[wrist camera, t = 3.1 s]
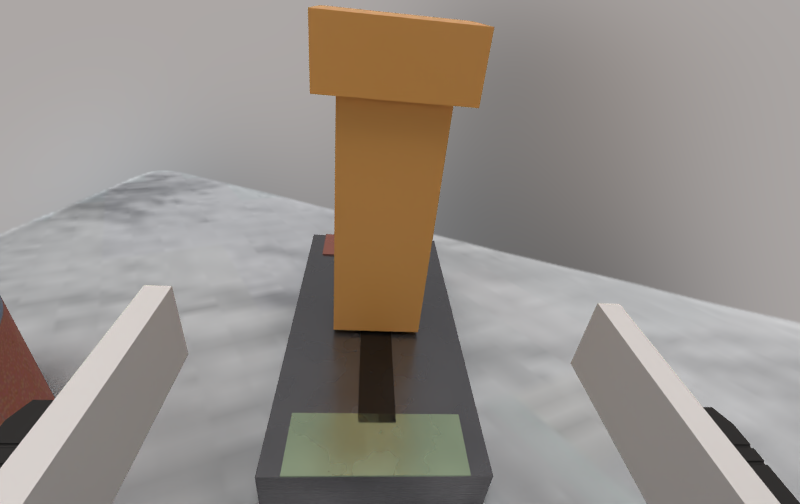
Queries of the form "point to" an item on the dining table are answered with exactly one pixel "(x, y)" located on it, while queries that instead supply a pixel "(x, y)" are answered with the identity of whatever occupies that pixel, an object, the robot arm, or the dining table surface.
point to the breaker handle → (390, 148)
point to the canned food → (17, 370)
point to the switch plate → (372, 407)
